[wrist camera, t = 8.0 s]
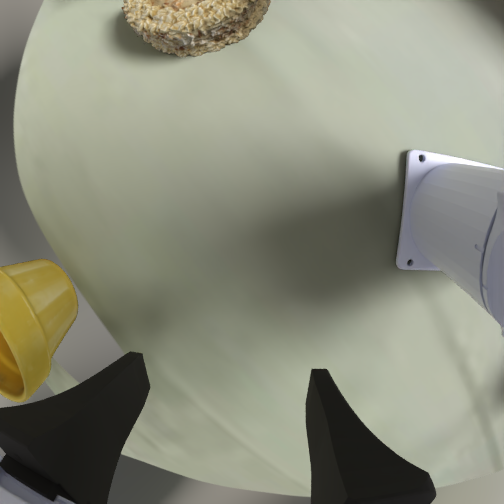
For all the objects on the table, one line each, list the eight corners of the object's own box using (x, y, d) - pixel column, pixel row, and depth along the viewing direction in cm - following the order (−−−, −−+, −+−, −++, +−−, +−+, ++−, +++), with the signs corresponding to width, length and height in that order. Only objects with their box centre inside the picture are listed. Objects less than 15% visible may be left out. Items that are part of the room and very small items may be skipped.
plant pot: (4, 265, 23) (-63, 305, 13) (53, 215, 20) (-38, 253, 11) (55, 350, 25) (2, 407, 16) (116, 323, 23) (51, 398, 14)
